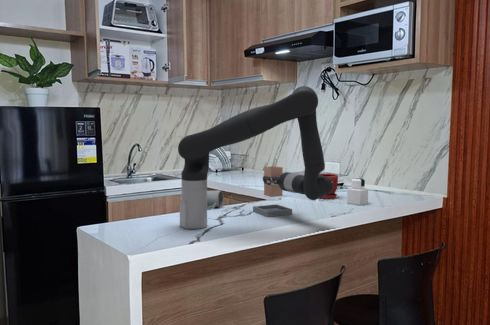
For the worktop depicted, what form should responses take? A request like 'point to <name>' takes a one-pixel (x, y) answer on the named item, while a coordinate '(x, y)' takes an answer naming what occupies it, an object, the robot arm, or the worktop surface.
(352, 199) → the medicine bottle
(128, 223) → the worktop surface
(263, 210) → the tray
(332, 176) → the plant pot
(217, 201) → the ceramic mug
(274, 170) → the cup
